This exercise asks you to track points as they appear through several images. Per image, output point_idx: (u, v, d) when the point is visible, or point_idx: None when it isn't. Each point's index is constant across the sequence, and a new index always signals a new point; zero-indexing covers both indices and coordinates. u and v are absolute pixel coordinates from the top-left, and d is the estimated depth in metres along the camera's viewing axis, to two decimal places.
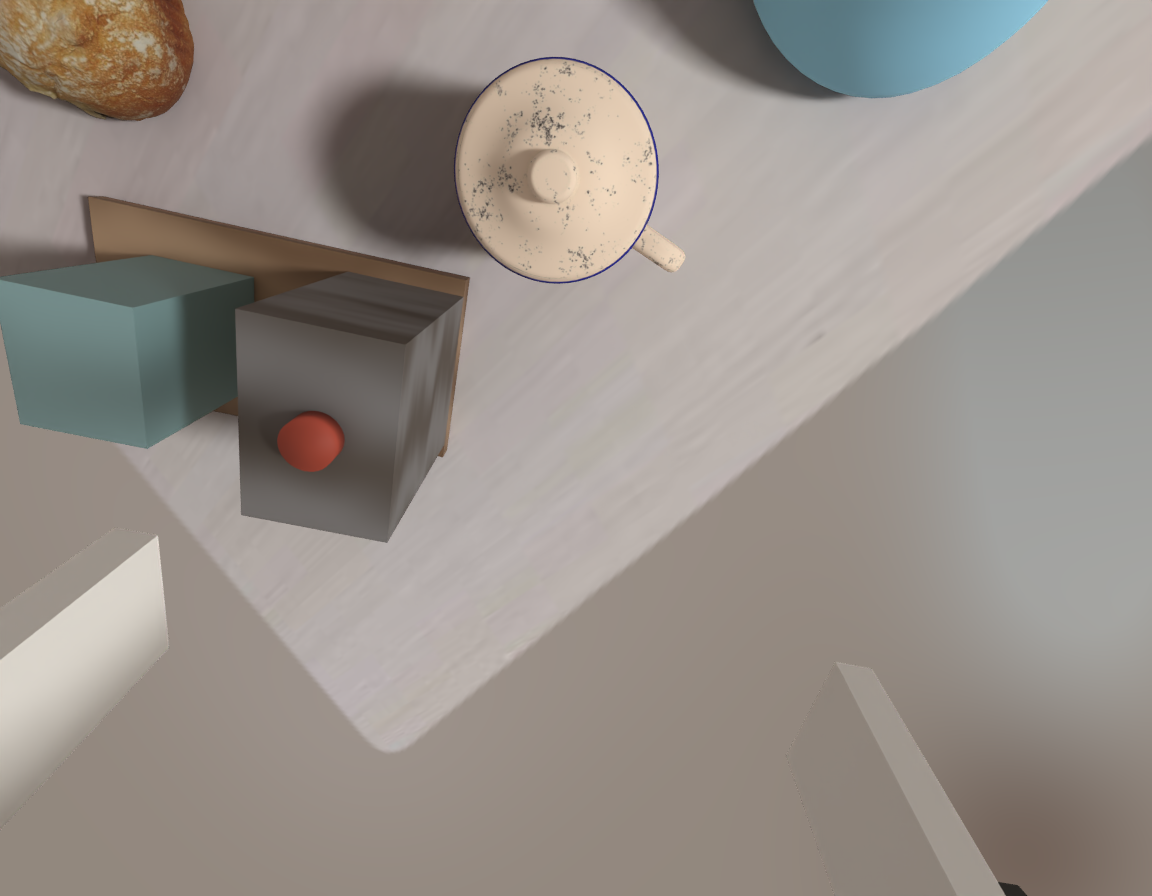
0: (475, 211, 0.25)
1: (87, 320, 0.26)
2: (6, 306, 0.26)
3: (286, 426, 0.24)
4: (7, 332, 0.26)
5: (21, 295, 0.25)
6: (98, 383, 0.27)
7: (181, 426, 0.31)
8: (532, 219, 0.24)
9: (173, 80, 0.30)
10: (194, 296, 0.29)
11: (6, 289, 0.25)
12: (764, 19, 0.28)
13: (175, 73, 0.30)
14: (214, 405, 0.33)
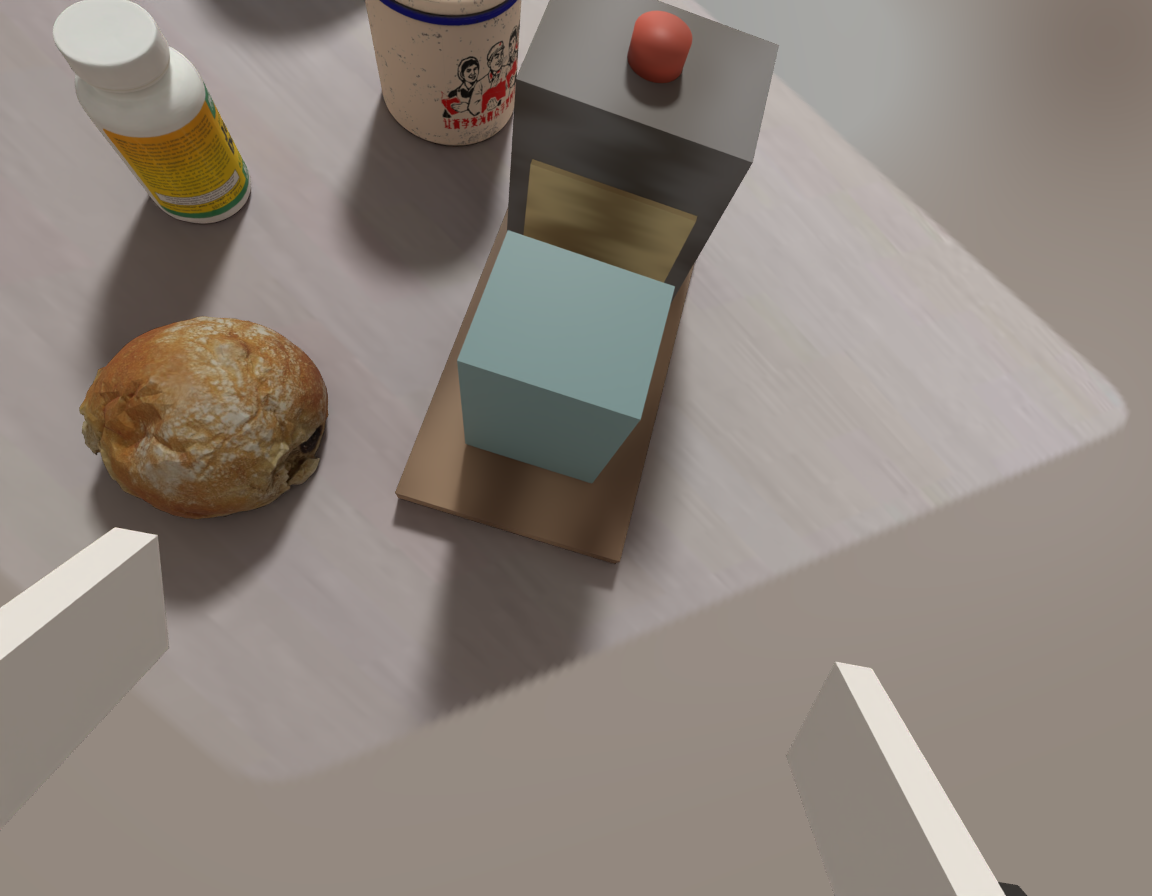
0: None
1: (517, 281, 0.22)
2: (491, 361, 0.21)
3: (640, 39, 0.23)
4: (522, 376, 0.21)
5: (480, 336, 0.21)
6: (591, 302, 0.22)
7: None
8: None
9: None
10: None
11: (472, 350, 0.21)
12: None
13: (294, 345, 0.30)
14: None
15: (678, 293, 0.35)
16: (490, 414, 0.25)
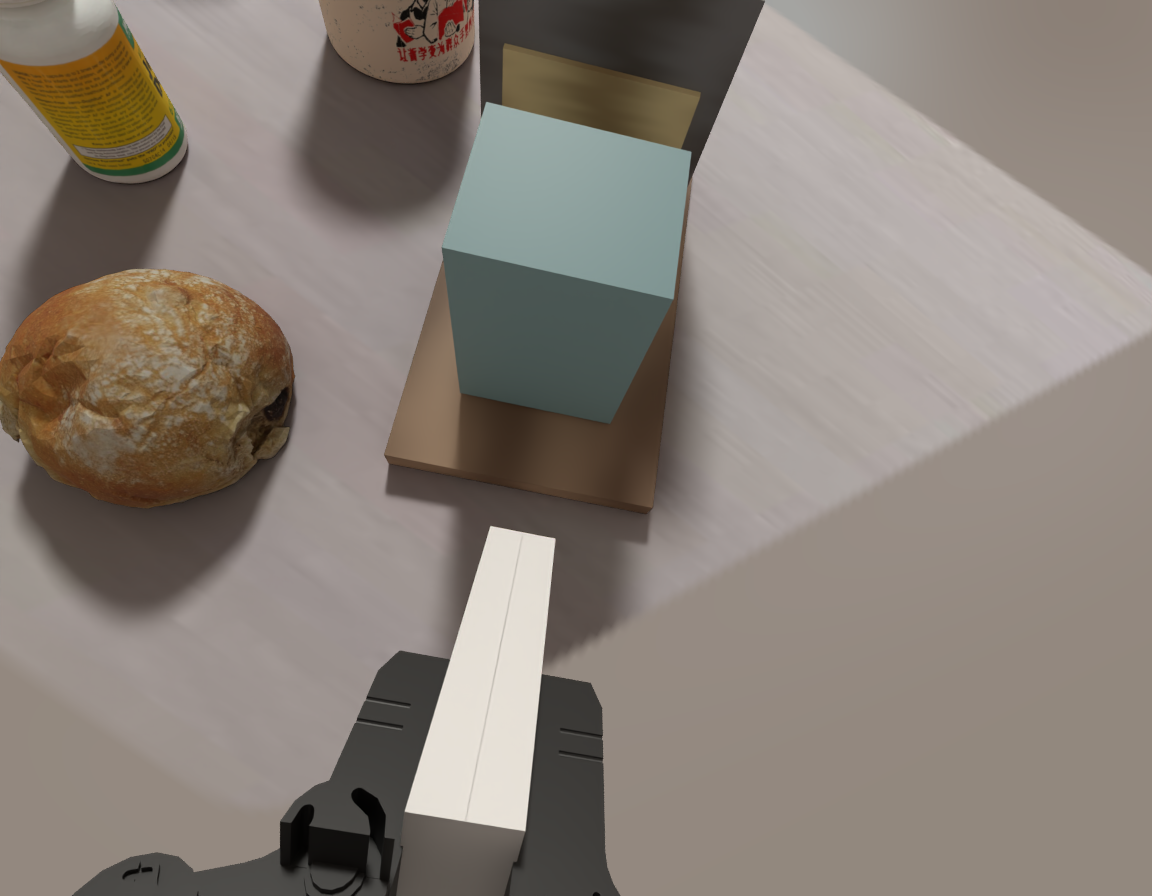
0: None
1: (505, 155, 0.18)
2: (484, 245, 0.17)
3: None
4: (524, 259, 0.17)
5: (467, 219, 0.17)
6: (596, 174, 0.18)
7: None
8: None
9: None
10: None
11: (459, 234, 0.17)
12: None
13: None
14: None
15: None
16: (487, 336, 0.21)
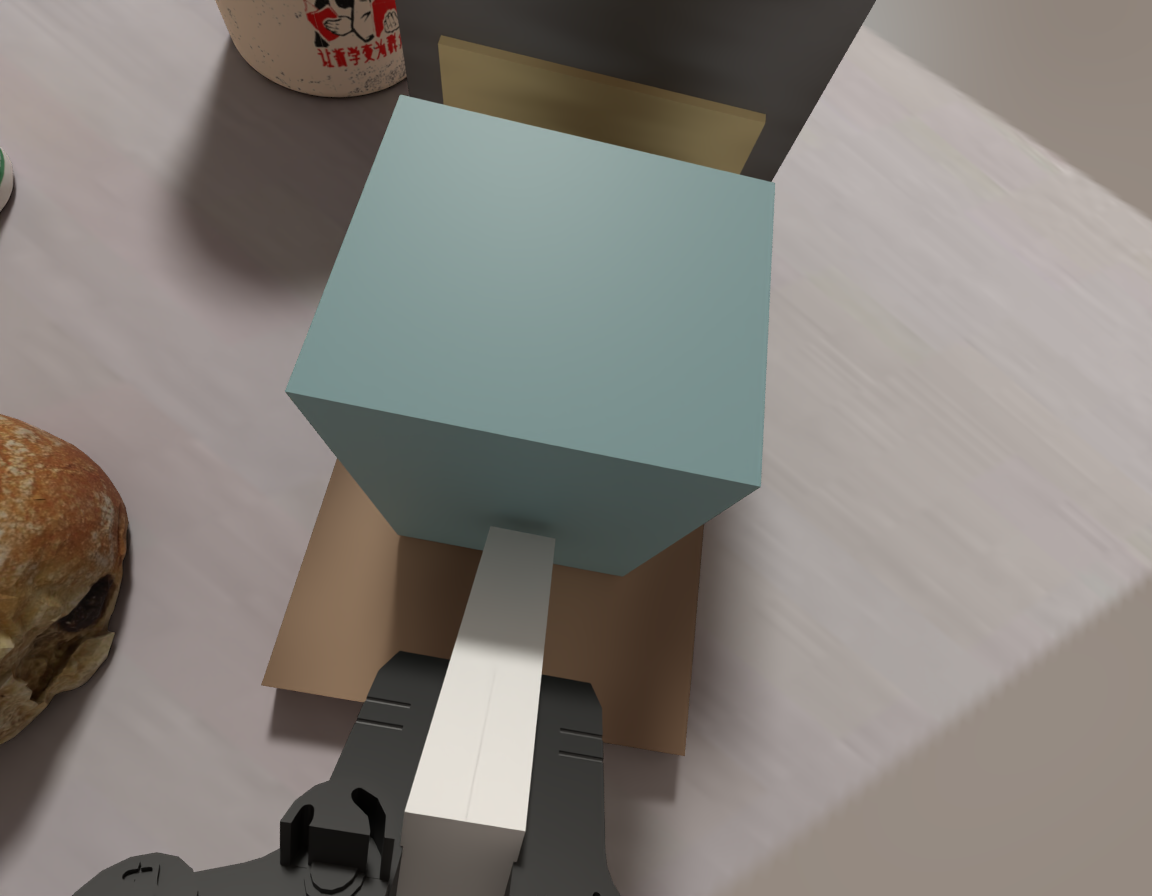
0: None
1: (429, 196, 0.10)
2: (376, 383, 0.08)
3: None
4: (457, 412, 0.08)
5: (346, 327, 0.09)
6: (603, 229, 0.10)
7: None
8: None
9: (62, 440, 0.17)
10: None
11: (324, 361, 0.08)
12: None
13: (51, 434, 0.17)
14: None
15: None
16: (417, 494, 0.12)
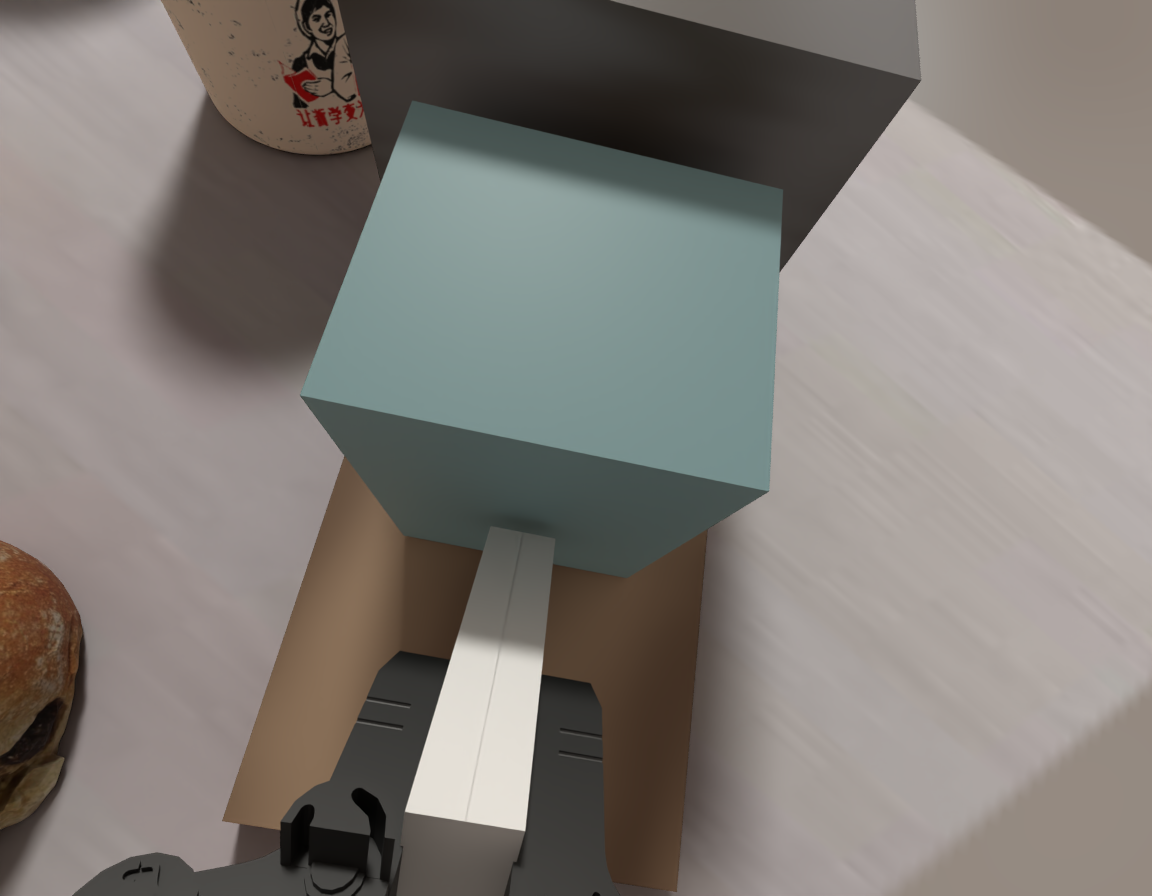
0: None
1: (441, 201, 0.10)
2: (389, 387, 0.08)
3: None
4: (469, 415, 0.08)
5: (360, 331, 0.09)
6: (613, 235, 0.10)
7: None
8: None
9: (9, 550, 0.16)
10: None
11: (338, 366, 0.08)
12: None
13: None
14: None
15: None
16: (426, 496, 0.12)
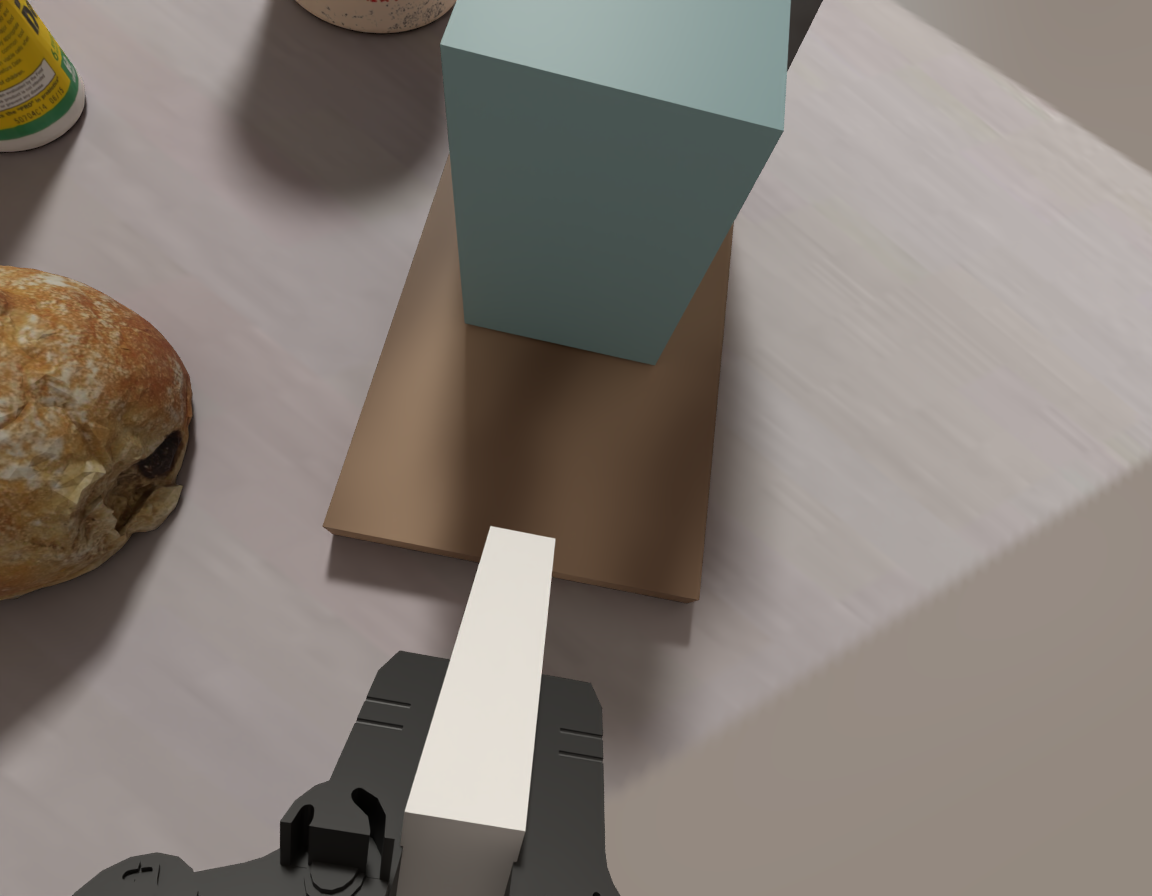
0: None
1: None
2: (504, 45, 0.11)
3: None
4: (562, 67, 0.11)
5: (479, 11, 0.12)
6: None
7: None
8: None
9: None
10: None
11: (466, 29, 0.11)
12: None
13: (126, 308, 0.19)
14: None
15: None
16: (503, 222, 0.15)
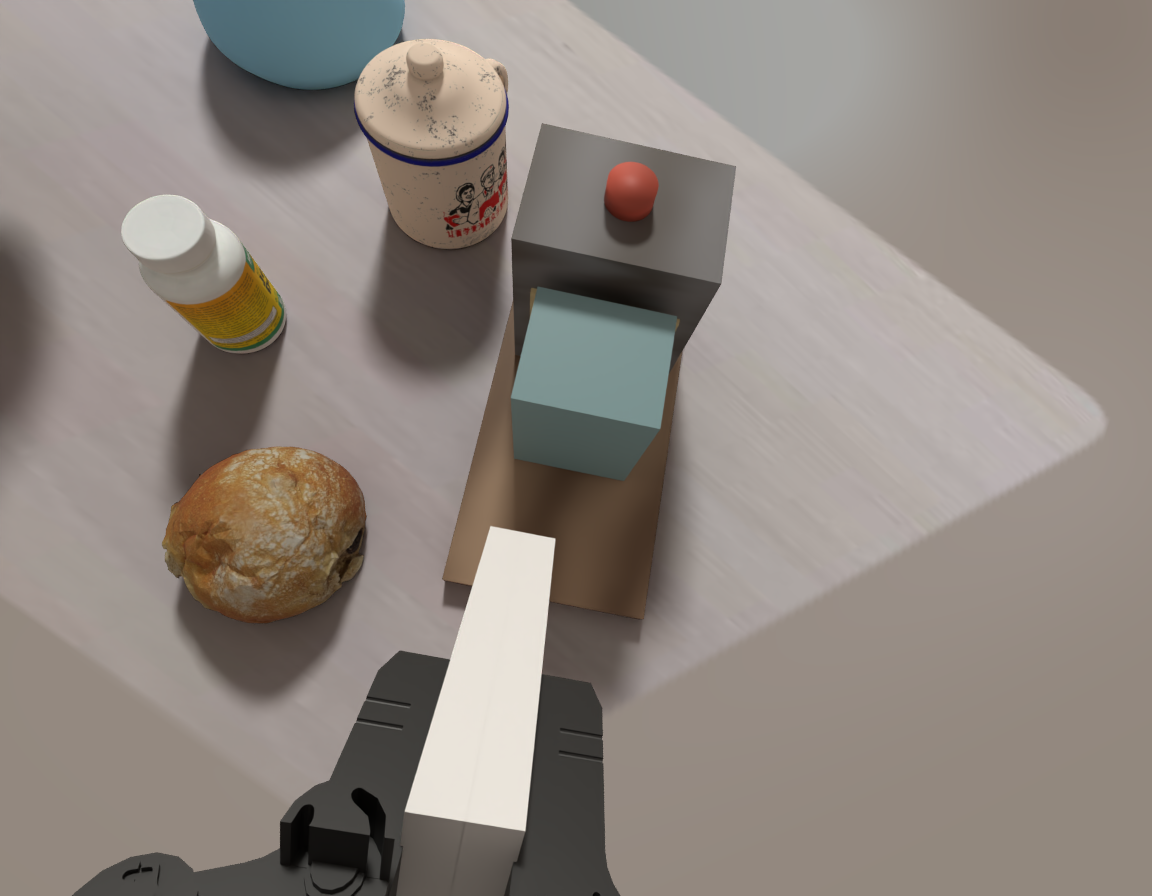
0: (450, 139, 0.33)
1: (550, 328, 0.27)
2: (537, 395, 0.26)
3: (613, 192, 0.26)
4: (563, 404, 0.26)
5: (526, 376, 0.27)
6: (611, 338, 0.28)
7: None
8: (455, 87, 0.33)
9: None
10: None
11: (521, 388, 0.26)
12: (353, 63, 0.43)
13: None
14: None
15: None
16: (536, 434, 0.31)
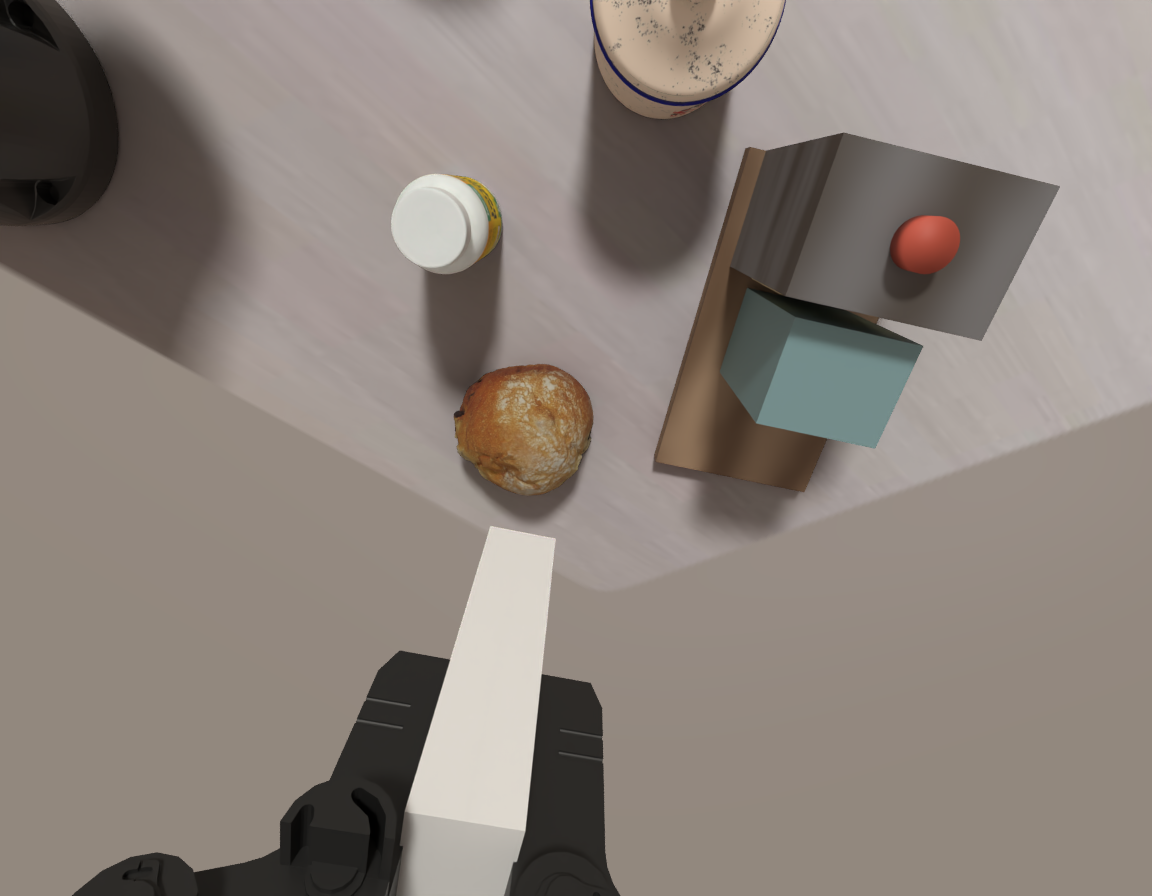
0: (713, 78, 0.27)
1: (799, 360, 0.30)
2: (779, 421, 0.32)
3: (906, 260, 0.25)
4: (798, 428, 0.32)
5: (772, 405, 0.32)
6: (853, 369, 0.31)
7: (896, 334, 0.32)
8: (730, 4, 0.25)
9: (568, 377, 0.41)
10: (774, 303, 0.34)
11: (766, 415, 0.32)
12: None
13: (564, 374, 0.41)
14: (870, 322, 0.35)
15: None
16: None
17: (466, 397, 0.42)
